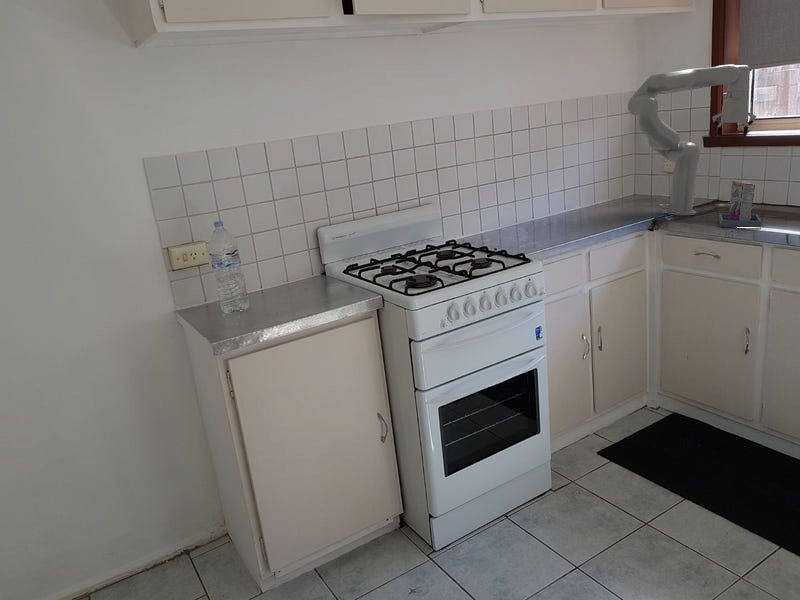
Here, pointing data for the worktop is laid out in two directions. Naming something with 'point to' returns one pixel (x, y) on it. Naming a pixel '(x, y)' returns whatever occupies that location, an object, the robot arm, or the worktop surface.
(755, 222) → the tray
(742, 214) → the candy bar box
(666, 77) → the robot arm
